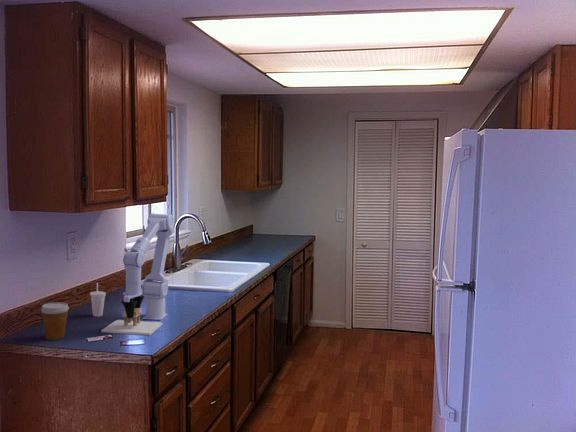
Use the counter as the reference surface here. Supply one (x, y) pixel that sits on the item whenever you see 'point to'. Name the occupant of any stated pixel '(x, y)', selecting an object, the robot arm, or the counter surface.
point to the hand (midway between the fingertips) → (133, 316)
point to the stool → (135, 318)
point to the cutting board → (132, 328)
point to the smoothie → (97, 302)
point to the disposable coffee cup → (54, 320)
